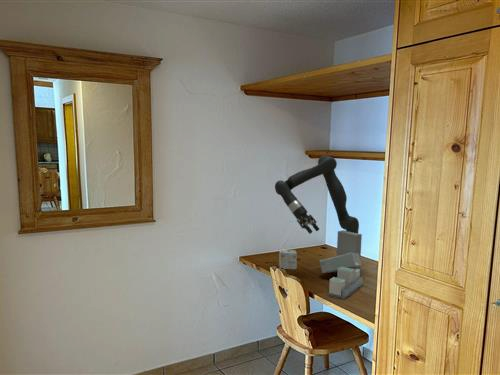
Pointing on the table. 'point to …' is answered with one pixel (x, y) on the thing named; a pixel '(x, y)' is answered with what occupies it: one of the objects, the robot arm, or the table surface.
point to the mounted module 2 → (356, 274)
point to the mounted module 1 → (336, 286)
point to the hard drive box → (340, 262)
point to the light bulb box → (288, 259)
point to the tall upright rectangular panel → (349, 243)
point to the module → (346, 275)
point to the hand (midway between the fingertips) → (314, 231)
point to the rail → (349, 289)
